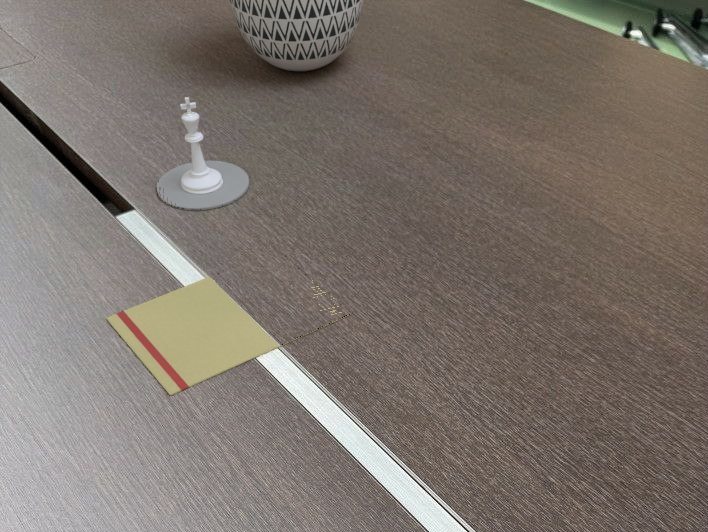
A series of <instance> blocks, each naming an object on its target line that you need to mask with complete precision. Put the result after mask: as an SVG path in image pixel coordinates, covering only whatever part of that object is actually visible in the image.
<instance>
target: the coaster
mask: <svg viewBox="0 0 708 532" xmlns="http://www.w3.org/2000/svg"><path fill="white" fill-rule="evenodd" d="M204 161H205V164H206V166H207V167H209V168H212V169H215V170H217V171H218V172H219V173H220V174H221V176H222V179H223V184H222V186H221V187H220V188H219V189H217V190H215V191H213V192H210V193H206V194H193V193H189V192H186V191H185V190H183V188H182V187H181V178H182V176H183V175H184V174H185V173H186V172H188V171H190V169H191V168H192V161H190V162H187V163H184V164H180V165H178V166H175V167H173V168H171V169H169V170H167V171H166V172H165V173H164V174H162V175H161V177H159V179H158V180H159V182H158V181H157V182H156V185H155V188H156V187H157V191H158V192H159V187H161V190H160V194H161V198H162V200H163V188H164V200H165V201H166V202H167V197H168V203H169V204H171V201H172V204H173V205H175V203H176V205H175V206H177V207H183V208H186V209H182V208H177V207H174V206H171V205H172V204H171V205H169V204H167V203H165V202H164V201H162V200H161V201H162V203H164V204H165V205H167V206H170V207H171V208H174V209H179V210H184V211H192V210H191V209H199V210H198V211H209V210H214V209H215V210H216V209H218V208H222V207H225V206H227V205H231V204H232V203H234V202H236V201H237V200H238V201H239V199H240V198H242V197H243V196H244V195H245V194H247V191H248V190H249V188H250V176H249V175H248V173H247V171H245V169H243V168H242V167H240V166H238V165H237V164H234V163H230V162H227V161H223V160H204ZM240 196H241V197H240ZM157 197H158V198H159V196H158V195H157ZM234 200H235V201H234ZM222 205H223V206H222ZM187 208H188V209H187ZM200 209H201V210H200Z"/></svg>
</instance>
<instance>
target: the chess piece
mask: <svg viewBox="0 0 708 532" xmlns="http://www.w3.org/2000/svg"><path fill="white" fill-rule="evenodd" d="M184 101H185V102H184V103H180V104H179V106H180V110H181V111H182V110H186V112H184V113H183V114H181V116H180V119H181V121H182V123H183V125H184V127H185V129H186V131H187V133H186V134H184V141H185V142H187V143H190V152H191V153H190V154H191V162H192V168H191V169H190V171H188V172H186V173H185V174H184V175H183V176H182V178H181V187H182V188H183V190H185V191H186V192H189V193H193V194H206V193H210V192H213V191H215V190H217V189H219V188H220V187H221V186H222V184H223V179H222V176H221V174H220V173H219V172H218V171H217V170H215V169H212V168H209V167H207V166H206V164H205V161H206V160H205V158H204V154H203V152H202V147H201V145H200V142H202V141H203V139H204V135H203V133H202V132H200V131H198V130H199V122H200V114H199V113H197V112H196V111H192V109H197V102H196V101H194V102H190V96H185V97H184Z"/></svg>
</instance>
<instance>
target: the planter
mask: <svg viewBox="0 0 708 532" xmlns="http://www.w3.org/2000/svg"><path fill="white" fill-rule="evenodd" d="M228 2H229V5H230V9H231V12H232V15H233V18H234V21H235V23H236V26H237V28H238V31H239V33H240V34H241V37H242V38H243V40H244V41H245V43H246V44H247V46H248V47H249V48H250V49H251V50H252V52H254V53H255V54H256V55H257V56H258V57H260V58H261V59H262V60H263V61H265V62H267V63H268V64H270V65H272V66H273V67H276V68H278V69H280V70H284V71H290V72H308V71H313V70H317V69H320V68H323V67H325V66H328V65H329V64H331V63H332V62H334V61H335V60H336V59H337V58H338V57H340V55H342V53H344V51H346V49H347V48H348V47H349V45H350V44H351V42H352V41H353V39H354V38H355V35H356V33H357V31H358V28H359V25H360V21H361V17H362V13H363V7H364V0H229V1H228Z"/></svg>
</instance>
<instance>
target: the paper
mask: <svg viewBox="0 0 708 532" xmlns="http://www.w3.org/2000/svg"><path fill="white" fill-rule="evenodd" d="M209 277H210V276H208V277H205V278H202V279H200V280H198V281H195V282H192V283H190V284H188V285H185V286H182V287H180V288H177V289H175V290H172V291H170V292H167V293H165V294H162V295H160V296H157V297H155V298H152V299H150V300H147V301H145V302H143V303H140V304H137V305H135V306H132V307H130V308H128V309H125V310H122V311H119V312H117V313H115V314H112V315H110V316H107V317H105V318H106V321H107V322H108V323H109V324H110V325H111V327H112V328H113V329H114V331H115V332H116V333H117V334H118V335H119V336H120V338H121V339H122V340H123V341H124V342H125V344H126V345H127V346H128V347H129V348H130V350H131V351H132V352H133V353H134V355H136V357H137V358H138V359H139V360H140V361H141V363H142V364H143V365H144V366H145V368H146V369H147V370H148V371H149V372H150V374H152V376H153V377H154V378H155V379H156V380H157V382H158V383H159V384H160V386H161V387H162V388H163V389H164V390H165V392H167V394H168V395H169V396H174V395H176V394H178V393H181V392H182V391H185V390H188V389H189V388H191V387H194V386H196V385H198V384H200V383H202V382H204V381H207V380H209V379H211V378H213V377H216V376H218V375H221V374H223V373H225V372H227V371H229V370H231V369H234V368H237V367H238V366H241V365H242V364H245V363H247V362H249V361H251V360H253V359H254V360H255V359H256V358H258V357H260V356H263V355H265V354H267V353H269V352H271V351H273V350H276V349H279V348H281V347H283V346H286V345H287V344H289V343H292V342H293V341H296V340H299V339H301V338H303V337H305V336H307V335H310V334H311V333H314V332H316V331H319V330H321V329H322V328H325V327H327V326H330V325H331V324H334V323H336V322H338V321H341V320H342V319H345V318H347V317H349V316H352V314H353V313H352V314H350V315H347V316H345V317H343V318H341V319H339V320H336V321H334V322H332V323H330V324H327V325H325V326H323V327H321V328H319V329H316V330H314V331H312V332H310V333H307V334H305V335H303V336H301V337H298V338H296V339H294V340H292V341H290V342H287V343H285V344H283V345H281V346H279V345H278V344H277V342H275V341H274V340H273V339H272V338H271V337H269V335H268V334H266V332H265V331H264V330H263V329H262V328H261V327H260V326H258V324H257V323H256V322H255V321H254V320H253V318H252V317H251V316H249V314H247V313H246V312H245V311H244V310H243V309H242V308H240V307H239V306H238V304H236V303H235V302H234V301H232V299H230V297H229V296H228V295H227V293H225V292H224V290H222V288H220V287H219V285H217V284H218V283H217V284H216V282H215V280H213V279H212V278H209ZM313 280H314V279H313ZM313 280H312V281H313ZM312 283H313V282H312ZM291 286H292V285H291ZM316 287H319V286H316ZM311 288H315V287H311ZM318 289H320V288H318ZM313 290H315V289H313ZM320 291H322V290H320ZM317 292H318V291H317ZM326 292H327V291H326ZM326 292H322V293H326ZM322 293H318V294H322ZM318 294H314V295H318ZM325 295H326V294H325ZM321 296H322V295H321ZM317 297H318V296H317ZM331 297H333V295H331ZM313 298H315V297H313ZM333 299H336V298H335V297H333ZM331 300H332V299H331ZM319 305H320V304H319ZM334 305H335V304H334ZM337 307H339V306H337ZM332 308H335V307H332ZM328 309H330V308H328ZM324 310H326V309H324ZM320 311H322V310H320ZM335 311H336V310H333V311H330V312H332V313H333V312H335ZM339 313H342V312H339ZM335 314H337V313H335ZM331 315H334V314H331Z"/></svg>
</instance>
